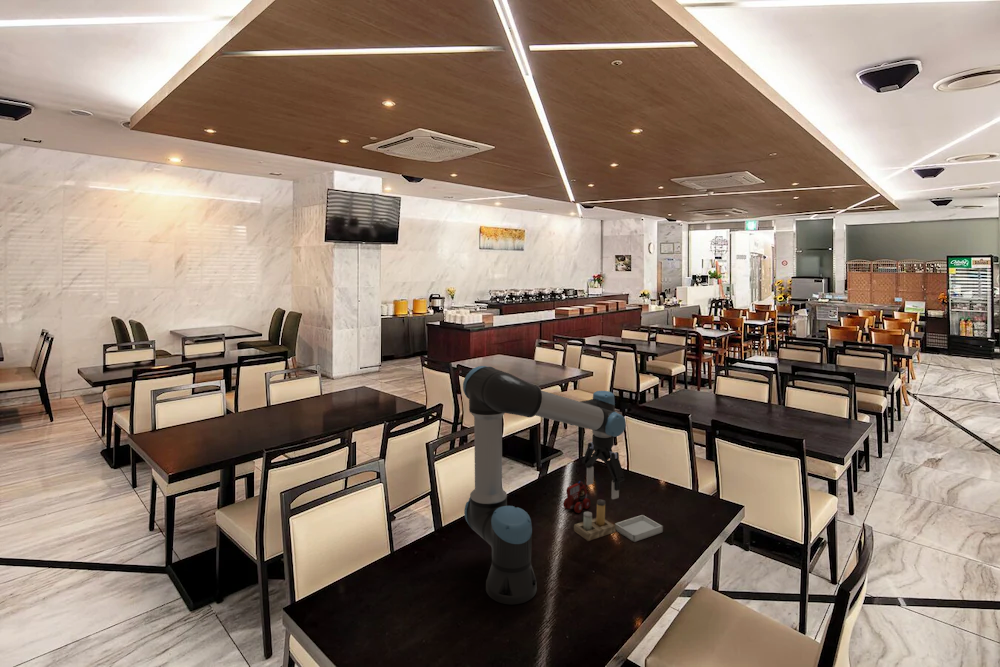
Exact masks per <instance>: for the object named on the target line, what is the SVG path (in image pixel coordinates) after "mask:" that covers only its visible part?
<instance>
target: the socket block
mask: <svg viewBox="0 0 1000 667" xmlns="http://www.w3.org/2000/svg"><path fill="white" fill-rule="evenodd" d="M583 523H584V521H581V522H578V523H574V525H573V531H574V532H575V533H576V534H577V535H579V536H580V537H582V539H585V540H586V541H587V542H590V541H593V540H596V539H599V538H602V537H604V536H608V535H610V534H614V533H616V530H615V524H613V523H612V522H610V521H608V520H607V519H605V526H602V527H599V526H598V525H596V517H594V518H592V530H589V531H586V530H584V529H583Z"/></svg>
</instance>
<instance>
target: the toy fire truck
mask: <svg viewBox="0 0 1000 667" xmlns="http://www.w3.org/2000/svg"><path fill="white" fill-rule="evenodd" d="M566 495H567V496H566V498H565V499H564V501H563V507H564V509H567V510H572V509H573V510H574V512H575V513H577V514H581V512H583V509H585V510H588V509H589V508H590V507H591V499H590V498H588V491H587V488H586V484H584V482H583V481H582V480H579V481H578V482H576V483H573V484H572V485H570V486H568V487H567V488H566Z"/></svg>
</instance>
